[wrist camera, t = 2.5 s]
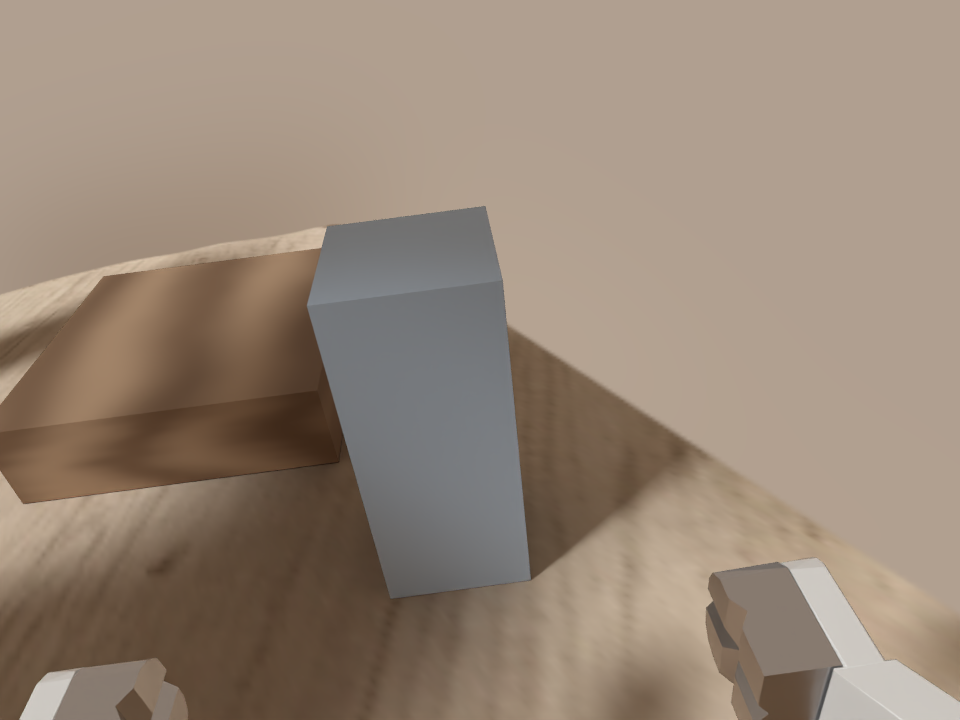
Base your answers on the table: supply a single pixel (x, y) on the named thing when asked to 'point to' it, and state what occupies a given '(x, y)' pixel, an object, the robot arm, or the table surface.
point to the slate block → (425, 396)
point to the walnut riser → (175, 383)
